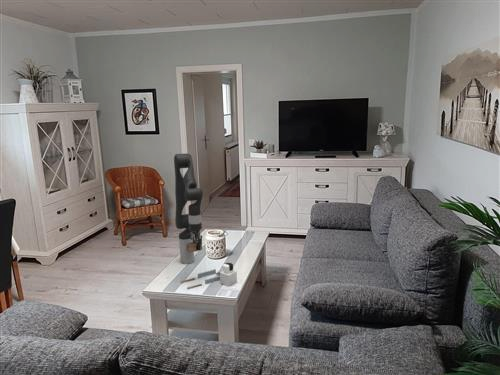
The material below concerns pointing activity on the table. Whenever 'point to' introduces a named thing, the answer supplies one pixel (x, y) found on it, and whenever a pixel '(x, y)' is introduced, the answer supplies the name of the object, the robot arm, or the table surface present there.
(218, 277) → the channel
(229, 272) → the medicine bottle
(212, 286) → the table surface
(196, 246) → the robot arm
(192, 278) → the strips
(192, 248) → the block
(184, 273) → the table surface
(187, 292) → the table surface
